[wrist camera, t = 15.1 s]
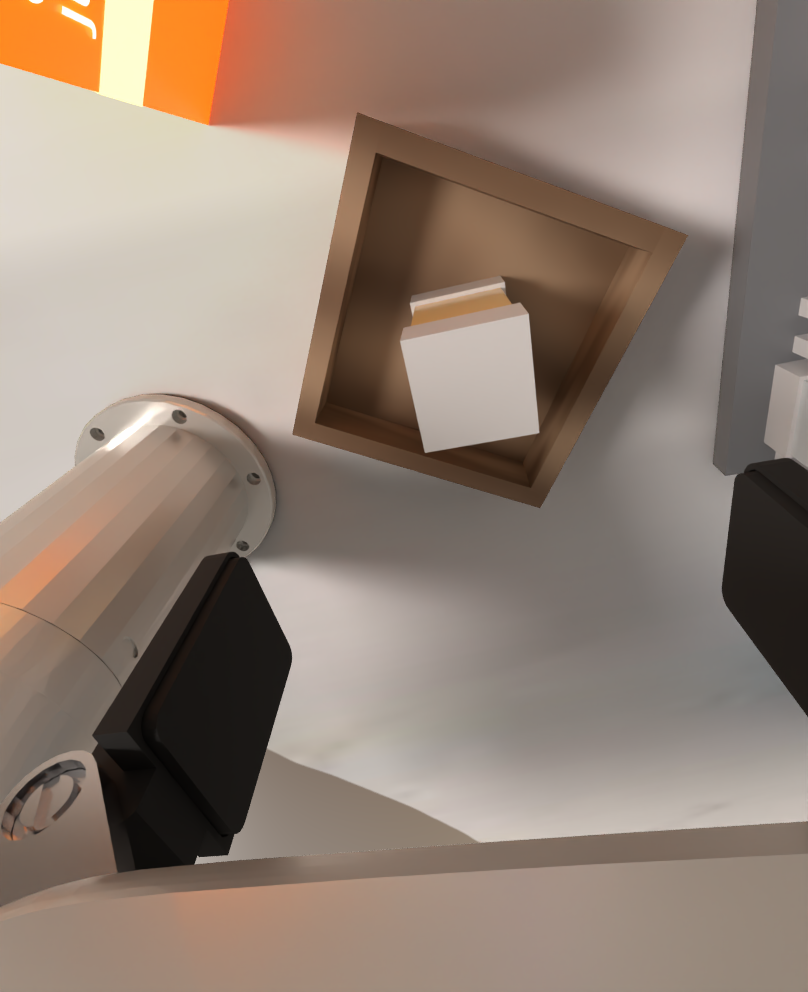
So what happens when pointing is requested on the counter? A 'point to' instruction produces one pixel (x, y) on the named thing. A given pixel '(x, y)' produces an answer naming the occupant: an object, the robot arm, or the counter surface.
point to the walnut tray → (463, 259)
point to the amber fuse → (470, 365)
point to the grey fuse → (789, 411)
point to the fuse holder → (767, 237)
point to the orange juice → (121, 48)
